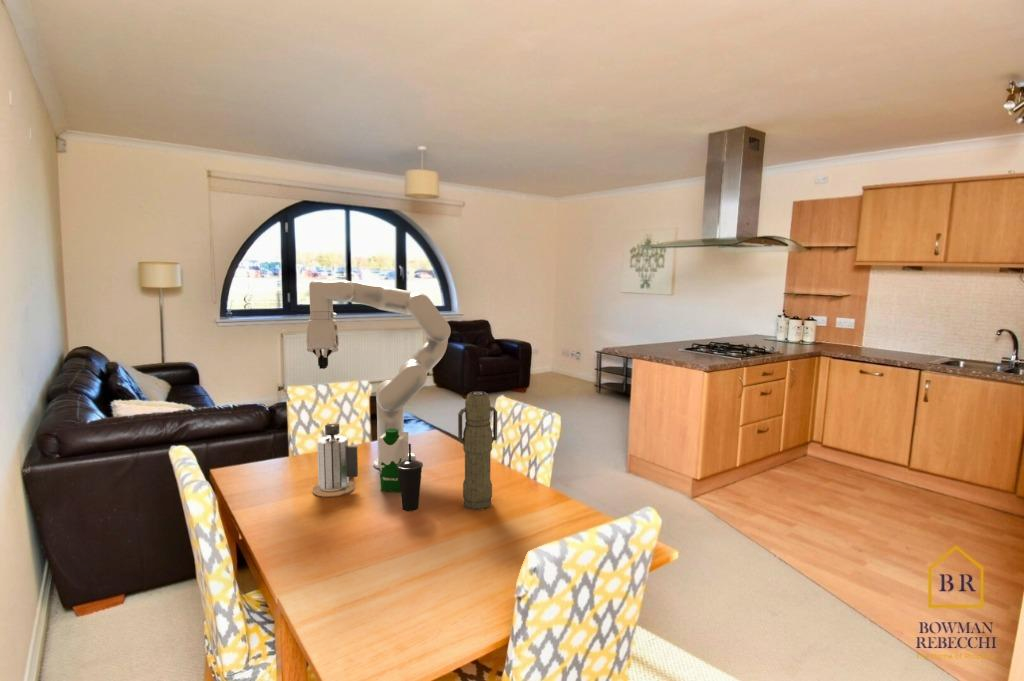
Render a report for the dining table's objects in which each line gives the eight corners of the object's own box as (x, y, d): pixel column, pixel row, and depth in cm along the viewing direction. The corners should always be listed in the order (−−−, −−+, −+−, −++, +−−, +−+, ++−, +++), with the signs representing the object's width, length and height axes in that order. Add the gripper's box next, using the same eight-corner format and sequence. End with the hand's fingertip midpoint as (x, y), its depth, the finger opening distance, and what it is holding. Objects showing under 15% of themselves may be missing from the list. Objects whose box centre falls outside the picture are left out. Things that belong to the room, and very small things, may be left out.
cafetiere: (362, 481, 181) (361, 433, 179) (351, 497, 168) (350, 445, 166) (321, 481, 180) (319, 433, 178) (306, 497, 167) (304, 445, 166)
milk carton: (377, 492, 172) (376, 432, 170) (386, 481, 181) (385, 424, 179) (403, 493, 171) (402, 433, 169) (411, 482, 180) (411, 425, 178)
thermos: (454, 501, 165) (454, 391, 161) (490, 495, 170) (490, 388, 166) (463, 513, 157) (463, 397, 153) (500, 507, 162) (501, 394, 158)
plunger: (342, 478, 176) (341, 423, 174) (338, 483, 172) (336, 427, 169) (329, 478, 176) (327, 423, 174) (324, 483, 171) (323, 427, 169)
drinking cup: (417, 514, 156) (416, 448, 154) (393, 512, 158) (392, 446, 155) (427, 504, 163) (426, 441, 161) (403, 501, 165) (402, 439, 163)
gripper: (346, 315, 189) (347, 366, 191) (304, 315, 189) (306, 366, 191) (339, 317, 182) (341, 370, 184) (295, 316, 181) (297, 369, 184)
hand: (323, 368), depth 187 cm, fingers closed
